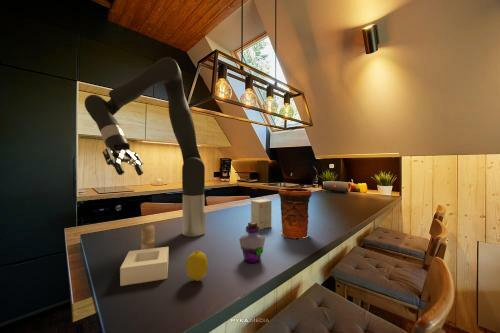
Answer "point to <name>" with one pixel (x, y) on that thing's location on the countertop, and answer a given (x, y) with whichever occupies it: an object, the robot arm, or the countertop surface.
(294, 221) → the vessel
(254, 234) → the potion bottle
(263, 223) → the small box
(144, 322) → the countertop surface
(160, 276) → the socket
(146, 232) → the peg
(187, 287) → the countertop surface
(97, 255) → the countertop surface
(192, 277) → the lemon
